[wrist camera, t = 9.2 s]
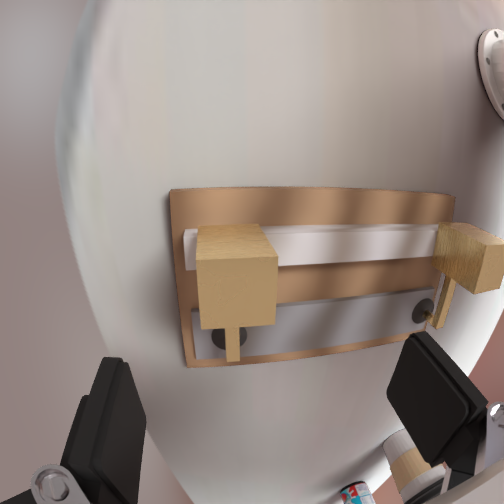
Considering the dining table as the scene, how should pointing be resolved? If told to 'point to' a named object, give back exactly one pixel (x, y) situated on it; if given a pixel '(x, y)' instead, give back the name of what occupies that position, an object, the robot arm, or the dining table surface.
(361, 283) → the board
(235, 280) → the block
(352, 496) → the beverage can
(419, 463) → the coffee cup
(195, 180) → the dining table surface
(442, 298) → the fixed leg
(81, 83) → the dining table surface
